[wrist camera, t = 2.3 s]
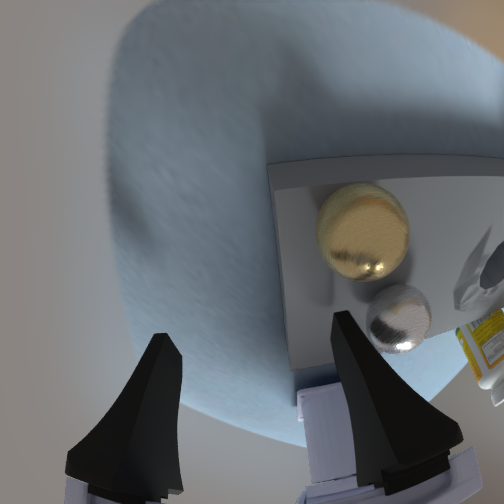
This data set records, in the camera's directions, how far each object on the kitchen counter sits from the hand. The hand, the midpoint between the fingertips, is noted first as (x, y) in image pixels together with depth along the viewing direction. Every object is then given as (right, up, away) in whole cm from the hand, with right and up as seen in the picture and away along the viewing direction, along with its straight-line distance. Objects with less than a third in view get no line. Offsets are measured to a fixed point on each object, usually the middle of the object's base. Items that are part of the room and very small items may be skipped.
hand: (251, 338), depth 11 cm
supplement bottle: (+21, -2, +8) cm, 22 cm away
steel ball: (+7, +1, -1) cm, 7 cm away
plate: (+11, +4, +2) cm, 12 cm away
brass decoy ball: (+3, +4, -4) cm, 7 cm away
